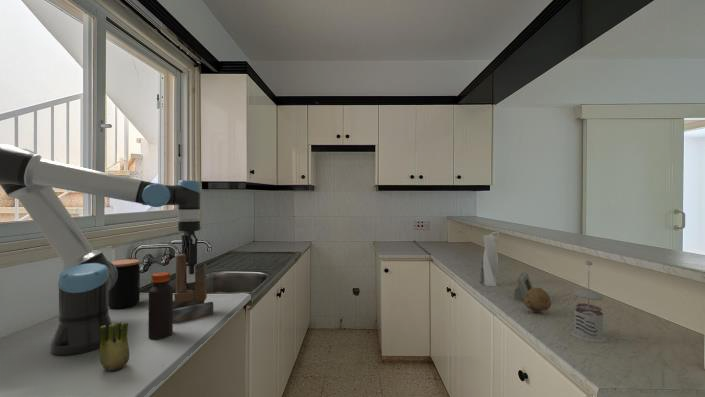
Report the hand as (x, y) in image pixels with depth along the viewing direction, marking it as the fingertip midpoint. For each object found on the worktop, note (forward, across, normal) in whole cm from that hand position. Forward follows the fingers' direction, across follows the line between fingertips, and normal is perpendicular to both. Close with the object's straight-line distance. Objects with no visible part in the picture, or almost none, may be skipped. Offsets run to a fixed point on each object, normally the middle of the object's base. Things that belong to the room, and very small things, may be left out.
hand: (189, 280), depth 124 cm
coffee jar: (+13, +27, +18) cm, 35 cm away
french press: (+13, -104, -97) cm, 143 cm away
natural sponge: (+13, -86, -107) cm, 138 cm away
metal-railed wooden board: (+13, 0, 0) cm, 13 cm away
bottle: (+13, -15, +12) cm, 23 cm away
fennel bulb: (+13, -30, +25) cm, 41 cm away
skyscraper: (+14, -54, -132) cm, 143 cm away
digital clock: (+13, -75, -123) cm, 145 cm away
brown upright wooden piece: (+8, 0, -1) cm, 8 cm away
